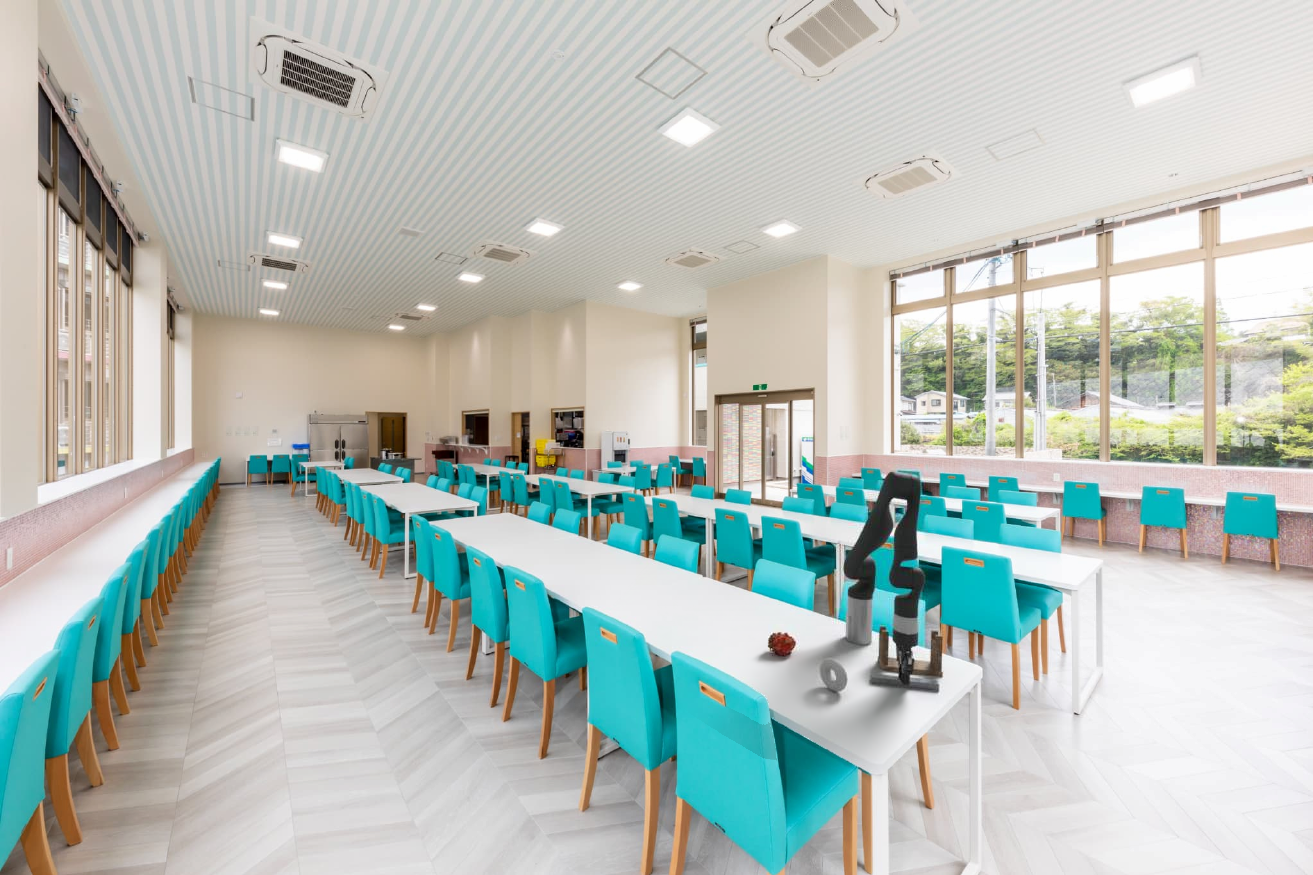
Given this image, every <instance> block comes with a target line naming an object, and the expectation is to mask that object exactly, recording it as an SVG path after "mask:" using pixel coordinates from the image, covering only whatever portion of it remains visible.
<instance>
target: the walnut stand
mask: <svg viewBox="0 0 1313 875" xmlns="http://www.w3.org/2000/svg"><path fill="white" fill-rule="evenodd" d="M878 631H879V632H878V633H879V634H878V656H877V662H878V664H879V666H880V668H881V670H882V671H886V672H894V673H895V672H897V673H899V666H898V661H897V660H896V659H897V657H889V644H890V642H889V640H890V631H889V630H887V626H886V625H879V630H878ZM943 638H944V637H943V635H941V634H939V630H934V629H932V630H930V656H929V657H930V658H929V660H919V659H914V660H915V661H914V667H913V674H915V675H925V676H934V677H943V676H944V675H943V674H944V671H943V670H942V669H943V667H942V666H943ZM907 669H908V668H907Z"/></svg>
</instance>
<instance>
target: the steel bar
mask: <svg viewBox="0 0 1313 875" xmlns="http://www.w3.org/2000/svg"><path fill="white" fill-rule="evenodd" d="M869 677H870V679H869V680H870V682H871V685H872V684H873V685H879V686H888V687H896V688H897V687H899V688H906V689H914V690H915V689H917V690H927V691H933V690H935V691H934V692H940V684H939V681H937V679H929V678H920V677H911V676H910V685H903V684H902V677H901V676H898V675H891V674H890V675H889V674H882V673H881V674H880V673H873V672H872V673H870V674H869Z"/></svg>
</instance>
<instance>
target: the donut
mask: <svg viewBox="0 0 1313 875" xmlns="http://www.w3.org/2000/svg"><path fill="white" fill-rule="evenodd" d="M831 670H832V671H833V673H834V675H835V678H834V677H833V675H832V672H831ZM819 675H820V678H821V681H822V682H823V684H824V685H825V686H826V688H828V689H829V690H830V691H832V692H836V693H837V692H842V691H844V690H845V689H846V687H847V684H848V675H847V671H846V669H845V667H844V665H843V664H842V663H841V662H840V661H839V660H838V659H836V658H832V657H827V658H824V659H823V660H821V664H820V665H819Z"/></svg>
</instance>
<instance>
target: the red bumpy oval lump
mask: <svg viewBox="0 0 1313 875" xmlns="http://www.w3.org/2000/svg"><path fill="white" fill-rule="evenodd" d="M796 645H797V641H796V640H795V638H794V637H793V636H791V635H789V634H788V632H784V633H782V631H779V632H778V631H777V633H776V632H773V633H772V634H770V635H769V637H768V640H767V648H768V649H769V652H771V653H774V654H775V655H780V656H783V657H784V656H786V655H791V654H792V653H793V650H794V649H795V648H796Z"/></svg>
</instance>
